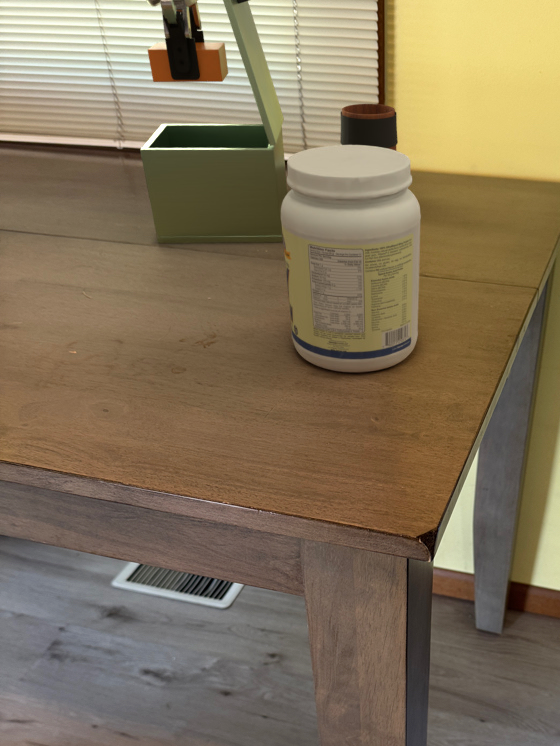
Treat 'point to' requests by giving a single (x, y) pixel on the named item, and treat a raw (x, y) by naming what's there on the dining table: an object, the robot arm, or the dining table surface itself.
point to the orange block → (208, 60)
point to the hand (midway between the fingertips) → (190, 72)
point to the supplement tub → (352, 256)
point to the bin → (215, 183)
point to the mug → (369, 125)
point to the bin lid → (255, 66)
